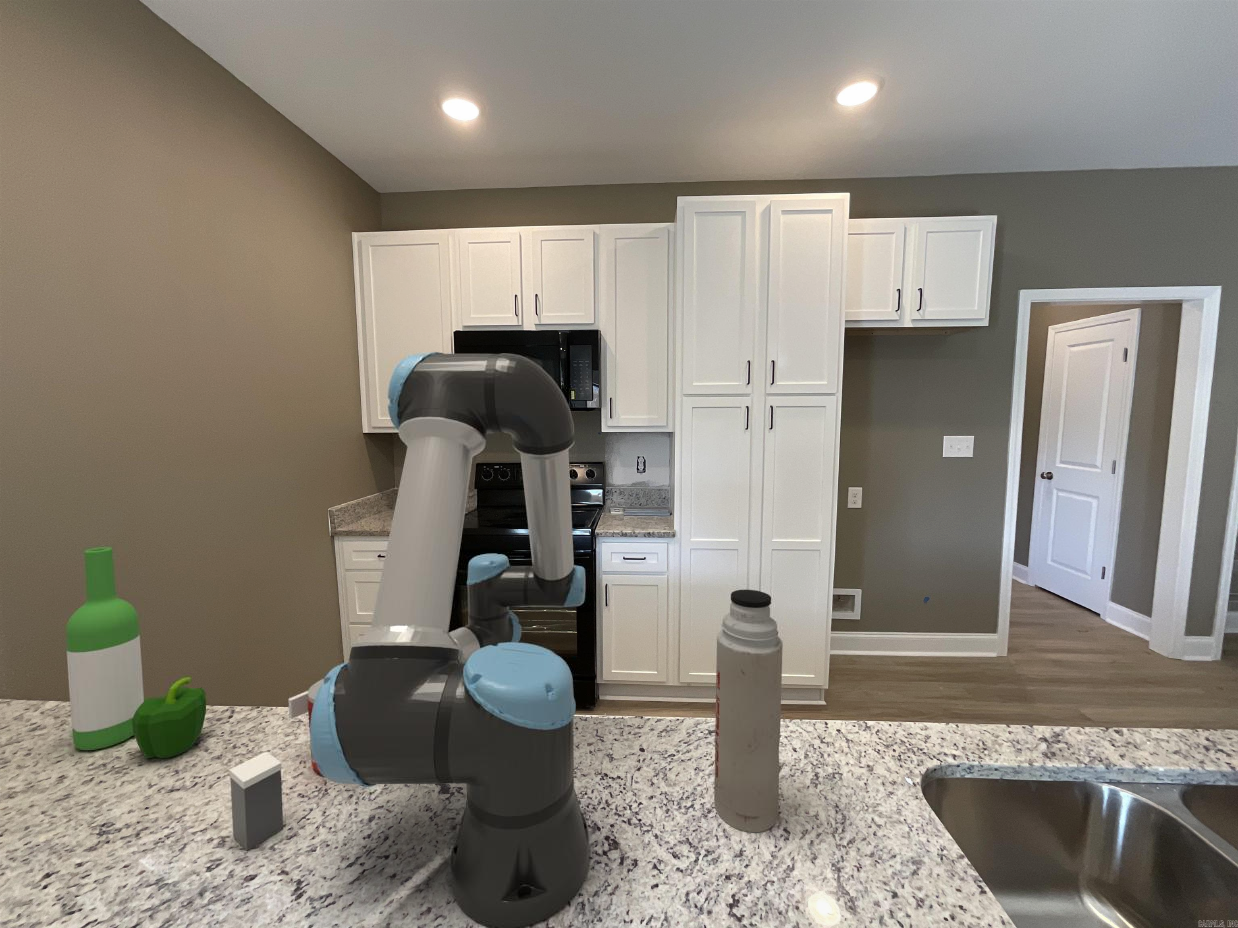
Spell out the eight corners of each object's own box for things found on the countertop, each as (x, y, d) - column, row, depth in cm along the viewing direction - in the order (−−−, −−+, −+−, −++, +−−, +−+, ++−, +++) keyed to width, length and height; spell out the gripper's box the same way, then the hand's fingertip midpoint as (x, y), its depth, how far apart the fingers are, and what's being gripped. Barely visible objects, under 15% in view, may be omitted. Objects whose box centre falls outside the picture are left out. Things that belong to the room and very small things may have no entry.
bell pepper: (144, 775, 67) (140, 706, 66) (126, 754, 71) (122, 689, 71) (219, 742, 74) (215, 680, 73) (198, 725, 78) (195, 666, 78)
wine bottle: (136, 717, 81) (125, 541, 79) (152, 732, 77) (141, 547, 75) (66, 742, 74) (53, 550, 72) (81, 760, 70) (67, 557, 68)
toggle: (284, 828, 56) (281, 762, 56) (246, 851, 53) (243, 781, 53) (269, 815, 58) (266, 751, 58) (232, 836, 55) (229, 769, 55)
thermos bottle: (706, 818, 60) (710, 598, 58) (722, 777, 67) (726, 580, 65) (773, 842, 56) (778, 609, 55) (782, 796, 64) (787, 589, 62)
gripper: (494, 698, 77) (361, 781, 59) (405, 661, 90) (271, 721, 71) (494, 652, 77) (359, 722, 58) (404, 622, 89) (269, 671, 70)
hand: (311, 721), depth 65 cm, fingers open, 11 cm apart
